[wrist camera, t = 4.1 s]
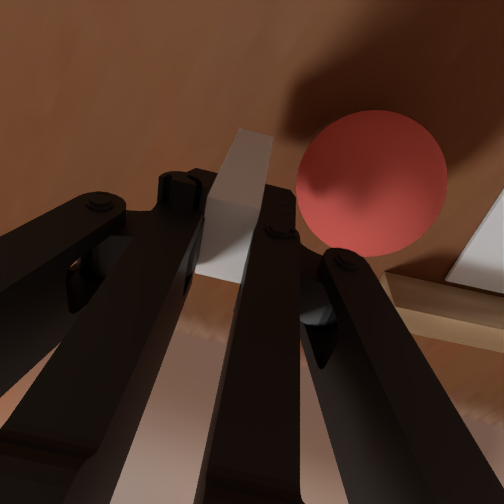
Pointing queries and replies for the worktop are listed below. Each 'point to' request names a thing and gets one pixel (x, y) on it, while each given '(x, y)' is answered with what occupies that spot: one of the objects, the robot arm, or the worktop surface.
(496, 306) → the wooden angle block
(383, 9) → the worktop surface
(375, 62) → the worktop surface
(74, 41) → the worktop surface
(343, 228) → the ball
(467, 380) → the worktop surface
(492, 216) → the pin deck mark
